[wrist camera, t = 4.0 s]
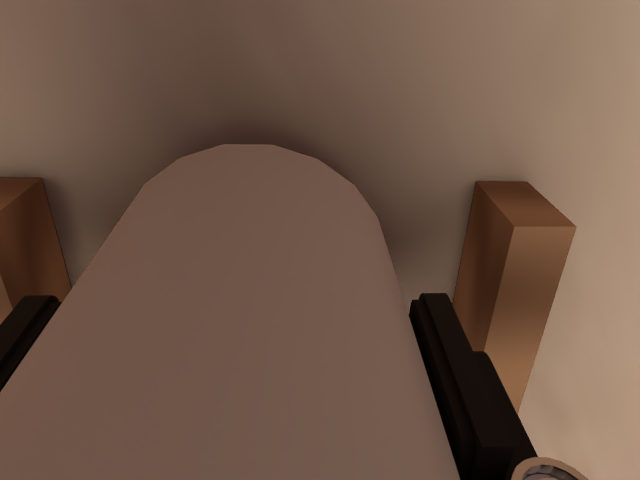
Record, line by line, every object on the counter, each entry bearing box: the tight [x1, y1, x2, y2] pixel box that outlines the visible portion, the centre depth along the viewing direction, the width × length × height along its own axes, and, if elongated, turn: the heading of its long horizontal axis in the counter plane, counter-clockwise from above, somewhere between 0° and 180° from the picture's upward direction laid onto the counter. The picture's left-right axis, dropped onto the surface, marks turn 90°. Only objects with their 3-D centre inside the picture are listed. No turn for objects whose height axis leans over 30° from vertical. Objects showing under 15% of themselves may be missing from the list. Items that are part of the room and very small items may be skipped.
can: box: [0, 144, 460, 480], centre depth 9 cm, size 8×8×12 cm
